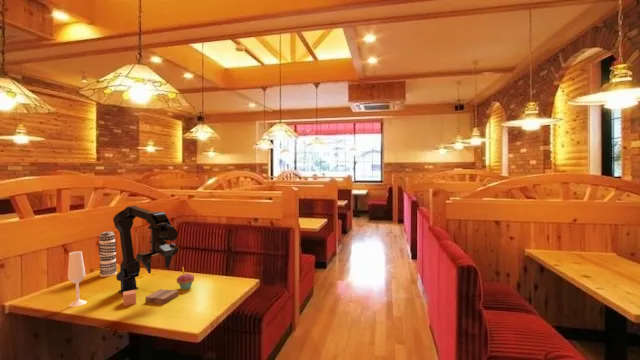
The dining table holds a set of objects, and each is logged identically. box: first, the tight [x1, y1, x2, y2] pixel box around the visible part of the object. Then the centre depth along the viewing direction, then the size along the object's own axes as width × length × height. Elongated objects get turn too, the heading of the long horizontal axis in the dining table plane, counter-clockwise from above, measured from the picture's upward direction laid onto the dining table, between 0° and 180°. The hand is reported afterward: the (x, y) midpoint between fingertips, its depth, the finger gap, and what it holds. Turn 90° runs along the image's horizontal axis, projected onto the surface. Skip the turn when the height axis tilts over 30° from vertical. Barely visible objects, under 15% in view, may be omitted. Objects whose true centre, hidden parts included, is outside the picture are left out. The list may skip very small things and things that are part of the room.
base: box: [145, 288, 179, 305], centre depth 160 cm, size 10×10×2 cm
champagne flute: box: [67, 250, 88, 308], centre depth 155 cm, size 7×7×24 cm
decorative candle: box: [97, 230, 118, 278], centre depth 197 cm, size 9×9×25 cm
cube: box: [122, 290, 137, 307], centre depth 156 cm, size 5×5×5 cm
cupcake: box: [176, 265, 195, 290], centre depth 174 cm, size 9×8×12 cm
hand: (158, 270), depth 161 cm, fingers open, 9 cm apart
